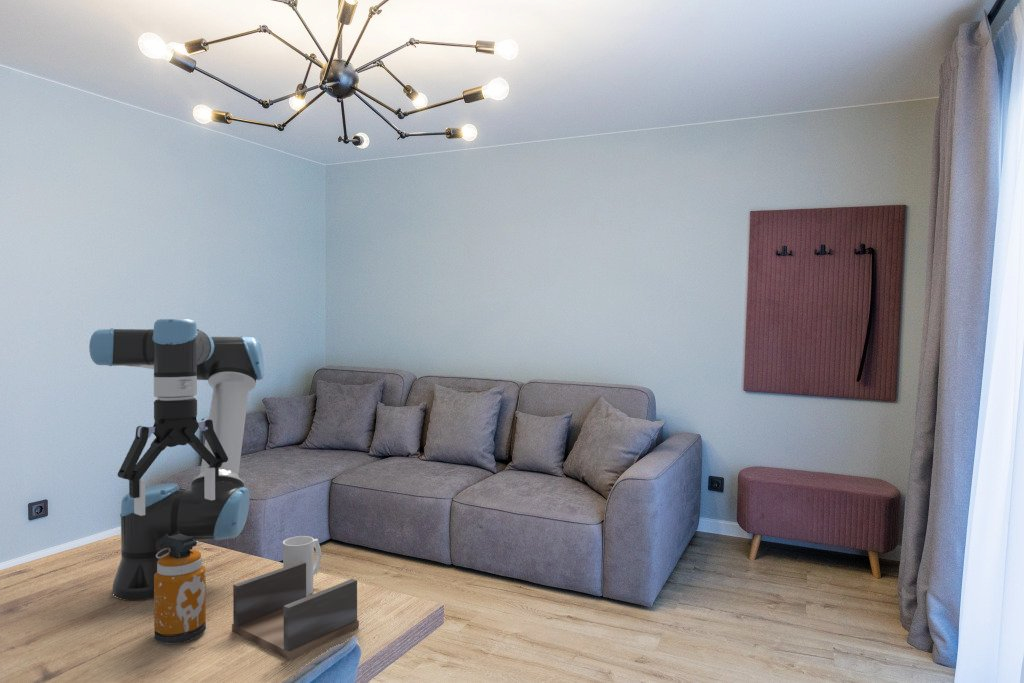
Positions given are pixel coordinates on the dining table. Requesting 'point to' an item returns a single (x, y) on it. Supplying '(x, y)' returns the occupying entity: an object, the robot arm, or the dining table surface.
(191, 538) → the canister
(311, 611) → the holder
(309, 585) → the mug
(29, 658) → the dining table surface
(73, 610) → the dining table surface
